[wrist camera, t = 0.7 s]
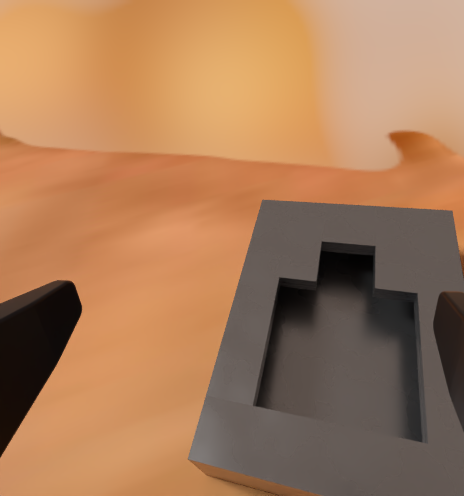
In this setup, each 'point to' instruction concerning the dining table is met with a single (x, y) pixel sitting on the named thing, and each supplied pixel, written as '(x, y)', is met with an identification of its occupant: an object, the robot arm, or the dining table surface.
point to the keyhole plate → (337, 357)
